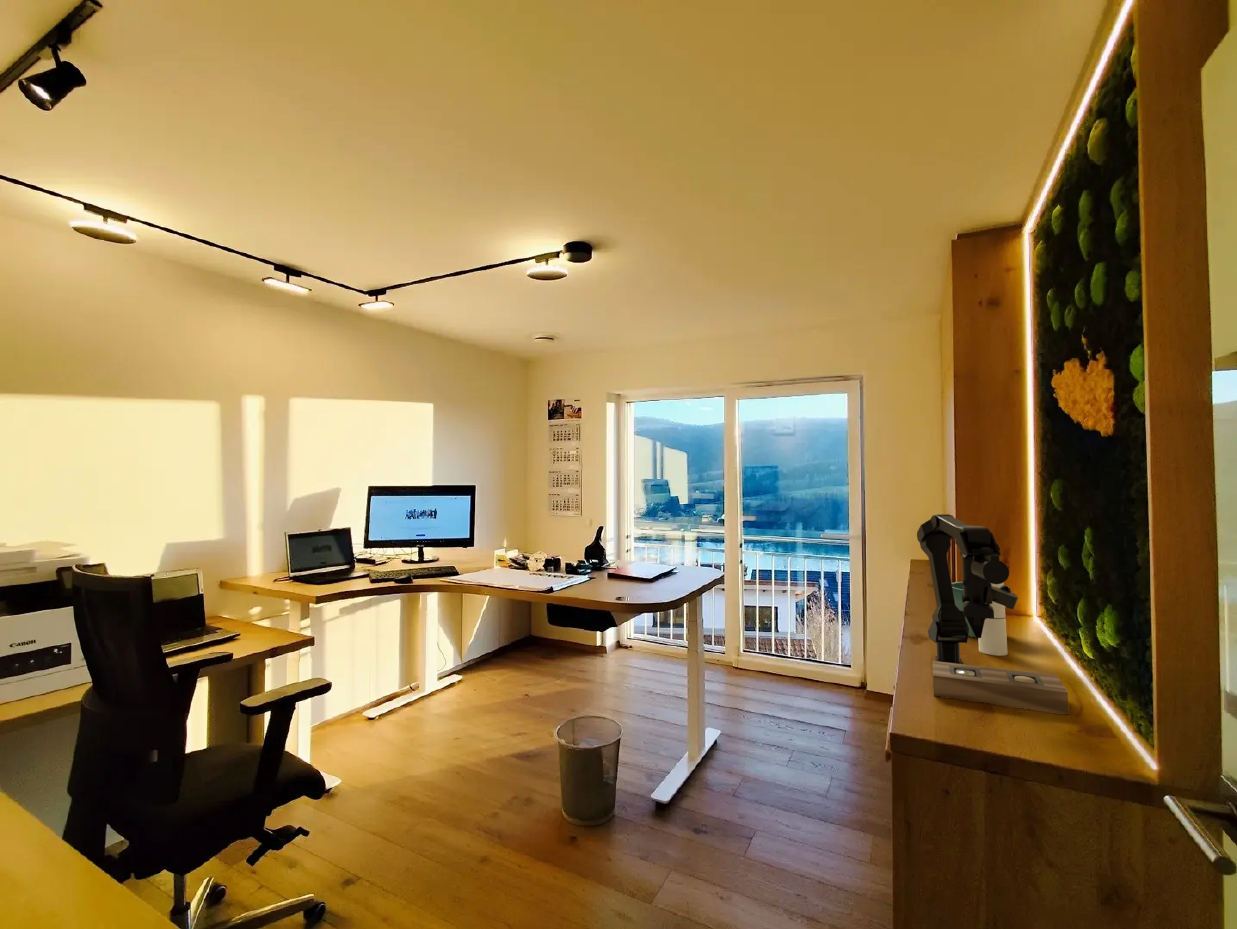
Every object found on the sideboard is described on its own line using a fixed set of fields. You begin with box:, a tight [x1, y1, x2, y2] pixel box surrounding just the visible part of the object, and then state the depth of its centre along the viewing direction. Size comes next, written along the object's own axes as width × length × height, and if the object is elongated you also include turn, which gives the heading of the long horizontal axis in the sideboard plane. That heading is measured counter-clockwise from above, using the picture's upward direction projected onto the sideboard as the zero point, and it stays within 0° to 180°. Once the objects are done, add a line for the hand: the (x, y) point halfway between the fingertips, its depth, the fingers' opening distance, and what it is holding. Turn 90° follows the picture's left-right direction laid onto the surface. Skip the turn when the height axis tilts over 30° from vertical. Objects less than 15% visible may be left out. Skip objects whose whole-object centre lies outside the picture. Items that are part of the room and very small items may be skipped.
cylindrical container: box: [977, 582, 1008, 657], centre depth 166 cm, size 7×7×25 cm
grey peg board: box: [932, 660, 1070, 715], centre depth 134 cm, size 12×26×5 cm, turn 61°
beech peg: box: [1014, 676, 1035, 683], centre depth 131 cm, size 4×4×5 cm
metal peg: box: [956, 669, 975, 676], centre depth 136 cm, size 4×4×5 cm
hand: (978, 637), depth 140 cm, fingers closed
